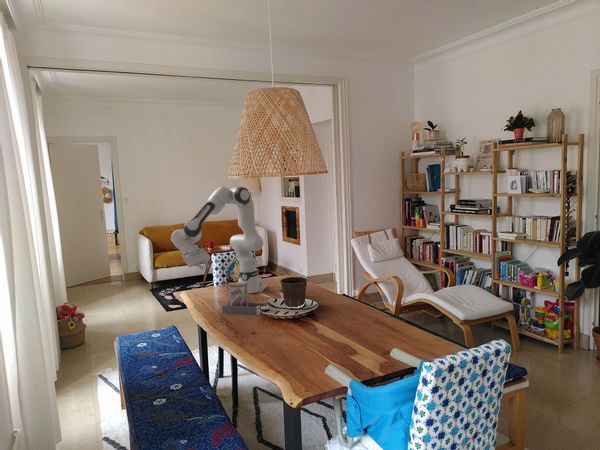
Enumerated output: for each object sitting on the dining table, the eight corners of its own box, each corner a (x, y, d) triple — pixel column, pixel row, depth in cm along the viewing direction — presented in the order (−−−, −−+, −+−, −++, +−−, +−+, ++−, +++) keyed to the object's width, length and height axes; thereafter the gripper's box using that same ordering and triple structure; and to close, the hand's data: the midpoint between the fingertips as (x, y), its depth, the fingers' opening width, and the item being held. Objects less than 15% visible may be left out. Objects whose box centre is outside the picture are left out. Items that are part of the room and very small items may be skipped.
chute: (231, 307, 270) (231, 298, 270) (268, 309, 262) (267, 300, 262) (221, 313, 259) (221, 304, 259) (259, 315, 251) (258, 306, 250)
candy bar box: (228, 312, 260) (226, 284, 258) (230, 309, 265) (228, 282, 263) (247, 312, 259) (245, 284, 257) (249, 309, 264) (247, 282, 262)
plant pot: (314, 306, 263) (313, 279, 261) (291, 312, 253) (289, 284, 252) (298, 301, 276) (297, 275, 274) (276, 306, 267) (274, 280, 265)
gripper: (183, 251, 260) (199, 268, 258) (202, 245, 279) (217, 261, 277) (177, 258, 262) (193, 275, 260) (197, 252, 281) (211, 268, 279)
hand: (206, 268), depth 269 cm, fingers open, 4 cm apart
